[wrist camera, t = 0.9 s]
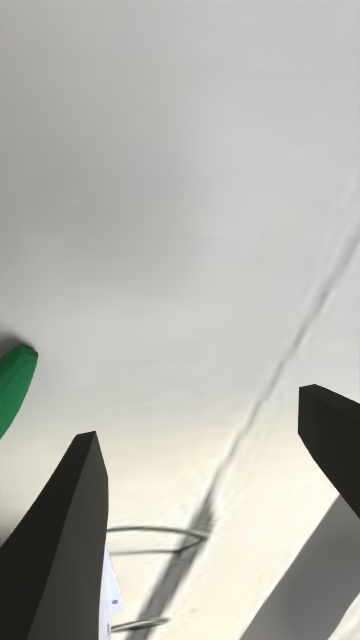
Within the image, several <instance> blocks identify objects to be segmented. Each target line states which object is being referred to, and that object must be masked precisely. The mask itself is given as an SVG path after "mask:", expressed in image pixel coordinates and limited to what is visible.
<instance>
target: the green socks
mask: <svg viewBox="0 0 360 640" xmlns="http://www.w3.org/2000/svg"><path fill="white" fill-rule="evenodd" d="M37 359H38V353H37V352H36V351H34V350H32V349H29V348H27V347H25V346H23V345H18V346H17V347H16V348H14V349H13V350H12V351H10V352H9V353H8V354H6V355H5V356H4V357H3V358H2V359H1V361H0V439H1V438H2V437H3V435H4V434H5V432H6V431H7V429H8V428H9V427H10V425H11V423H12V422H13V420H14V418H15V416H16V415H17V413H18V411H19V409H20V407H21V405H22V402H23V400H24V398H25V396H26V393H27V391H28V388H29V385H30V383H31V380H32V377H33V374H34V371H35V368H36V364H37Z"/></svg>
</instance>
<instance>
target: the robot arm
mask: <svg viewBox="0 0 360 640" xmlns="http://www.w3.org/2000/svg"><path fill="white" fill-rule="evenodd" d="M298 434H299V436H300V438H301V439H302V441H303V443H304V445H305V446H306V448H307V450H308V451H309V453H310V454H311V456H312V458H313V459H314V461H315V462H316V463H317V465H318V466H319V467H320V469H321V470H322V471H323V472H324V474H325V475H326V476H327V478H328V479H329V480H330V482H331V483H332V484H333V485H334V487H335V488H336V489H337V491H338V492H339V493H340V494H341V495H342V497H343V498H344V499H345V501H346V502H347V503H348V504H349V506H350V507H351V508H352V510H353V511H354V512H355V513H356V515H357V516H358V517H359V519H360V404H359V403H357V402H355V401H353V400H351V399H348V398H346V397H344V396H342V395H340V394H337V393H335V392H333V391H331V390H328V389H326V388H324V387H321V386H319V385H316V384H313V385H308V386H303V387H299V411H298ZM107 520H108V475H107V471H106V468H105V464H104V460H103V457H102V453H101V449H100V445H99V442H98V438H97V434H96V431H92V432H87V433H82V434H78V435H76V436H75V438H74V439H73V441H72V443H71V444H70V446H69V448H68V449H67V451H66V453H65V454H64V456H63V458H62V459H61V461H60V463H59V464H58V466H57V468H56V469H55V471H54V473H53V474H52V476H51V477H50V479H49V480H48V482H47V483H46V485H45V487H44V488H43V490H42V491H41V493H40V494H39V496H38V497H37V499H36V500H35V502H34V503H33V504H32V506H31V507H30V509H29V510H28V511H27V513H26V514H25V516H24V517H23V519H22V520H21V521H20V523H19V524H18V526H17V527H16V528H15V530H14V531H13V532H12V534H11V535H10V536H9V538H8V539H7V540H6V541H5V543H4V544H3V545H2V547H1V548H0V640H111V615H113V614H116V613H119V612H121V611H122V610H123V609H124V602H123V599H122V596H121V592H120V589H119V586H118V582H117V579H116V576H115V572H114V569H113V566H112V562H111V559H110V556H109V552H108V549H107V546H106V543H105V541H106V531H107Z"/></svg>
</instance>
